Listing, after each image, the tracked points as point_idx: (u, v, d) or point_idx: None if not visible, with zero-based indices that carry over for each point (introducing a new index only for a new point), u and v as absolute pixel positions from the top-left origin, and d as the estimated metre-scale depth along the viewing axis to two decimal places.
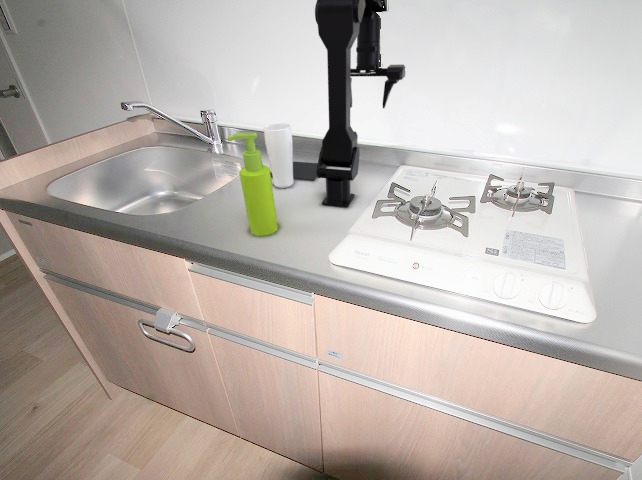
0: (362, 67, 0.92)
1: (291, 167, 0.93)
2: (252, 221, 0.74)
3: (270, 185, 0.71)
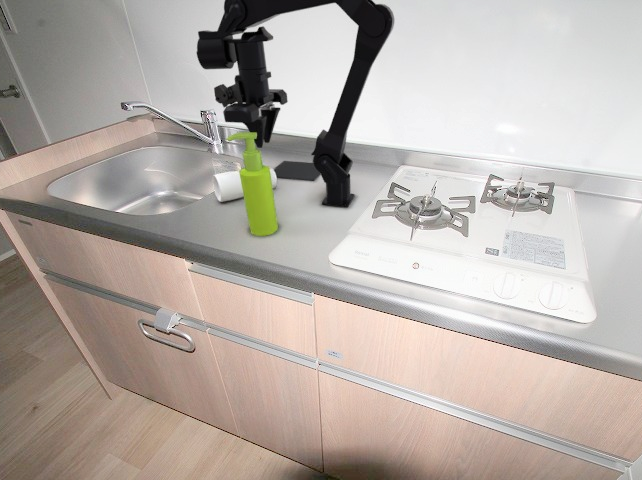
0: (267, 97, 0.76)
1: None
2: (252, 221, 0.74)
3: (270, 185, 0.71)
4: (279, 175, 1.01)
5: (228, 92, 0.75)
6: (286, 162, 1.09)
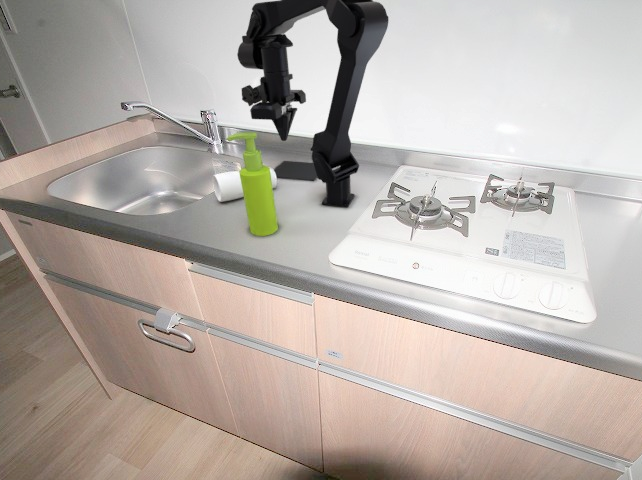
0: (288, 97, 0.84)
1: None
2: (252, 221, 0.74)
3: (270, 185, 0.71)
4: (279, 175, 1.01)
5: (254, 92, 0.83)
6: (286, 162, 1.09)
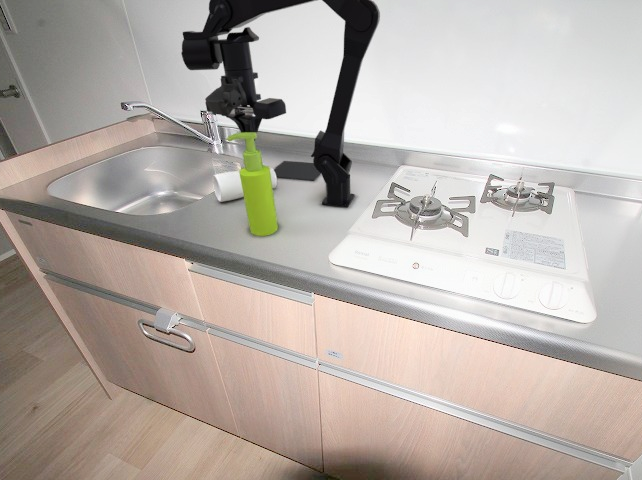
0: None
1: None
2: (252, 221, 0.74)
3: (270, 185, 0.71)
4: (279, 175, 1.01)
5: None
6: (286, 162, 1.09)
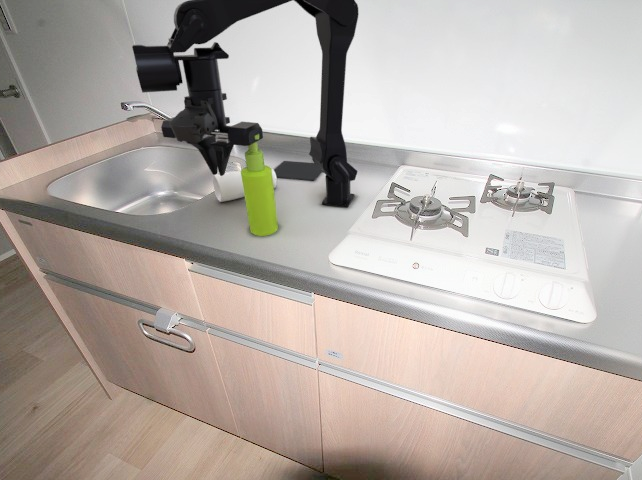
0: None
1: None
2: (252, 221, 0.74)
3: (271, 186, 0.71)
4: (279, 175, 1.01)
5: None
6: (286, 162, 1.09)
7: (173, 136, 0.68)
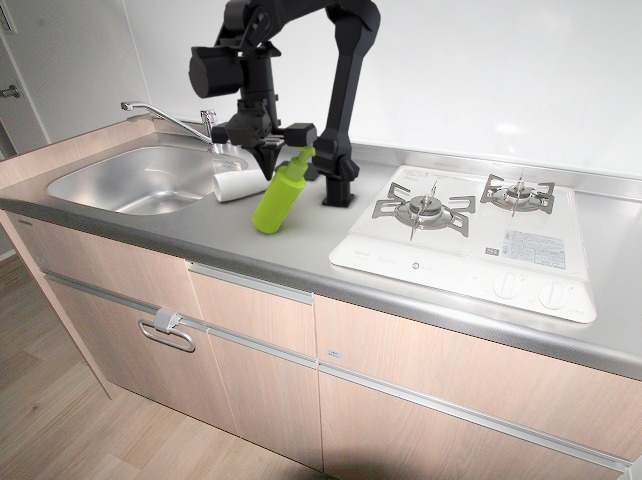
0: None
1: (258, 178, 0.89)
2: (262, 217, 0.72)
3: None
4: None
5: None
6: (286, 162, 1.09)
7: (223, 142, 0.65)
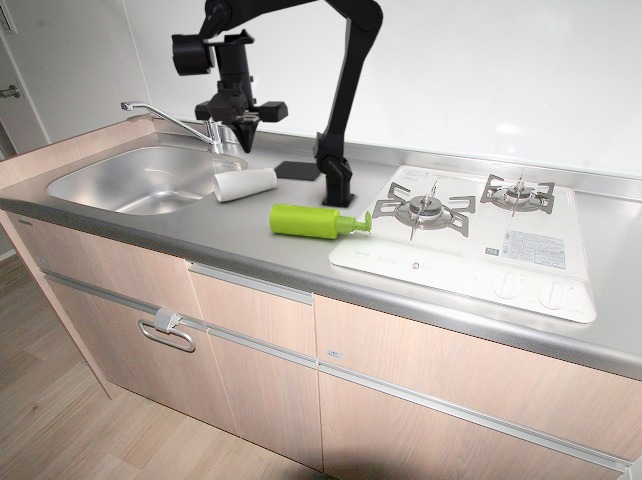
0: None
1: (258, 178, 0.89)
2: (284, 223, 0.72)
3: None
4: (279, 175, 1.01)
5: None
6: (286, 162, 1.09)
7: (206, 118, 0.74)
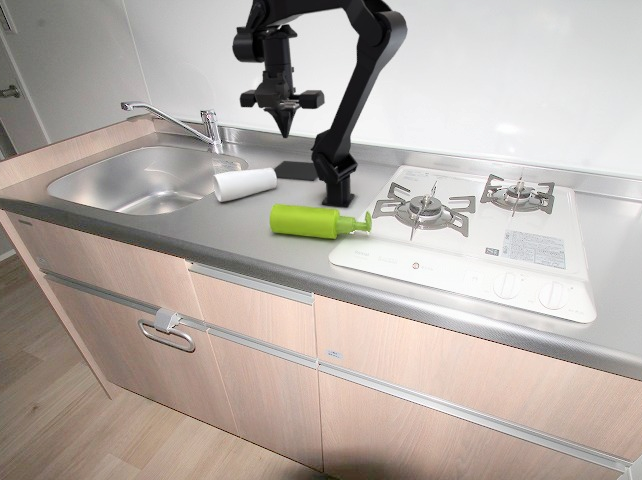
0: None
1: (258, 178, 0.89)
2: (284, 223, 0.72)
3: None
4: (279, 175, 1.01)
5: None
6: (286, 162, 1.09)
7: (250, 105, 0.82)
